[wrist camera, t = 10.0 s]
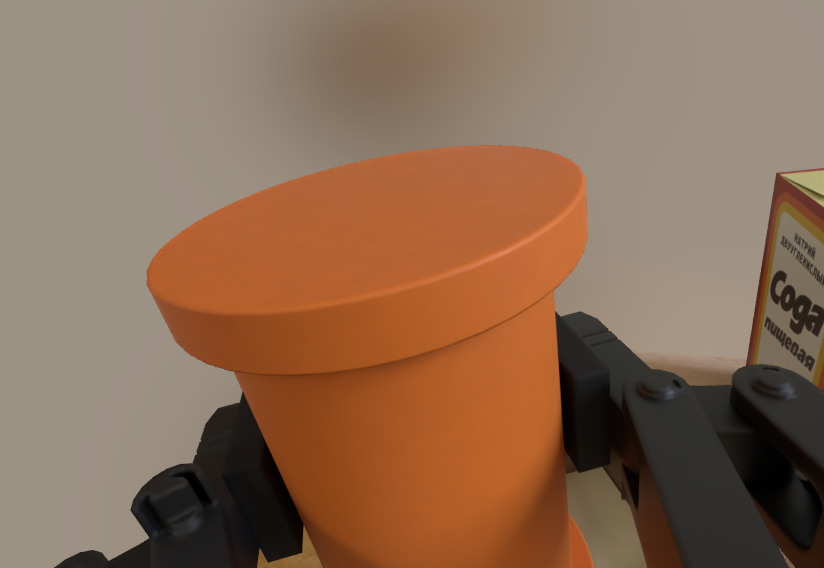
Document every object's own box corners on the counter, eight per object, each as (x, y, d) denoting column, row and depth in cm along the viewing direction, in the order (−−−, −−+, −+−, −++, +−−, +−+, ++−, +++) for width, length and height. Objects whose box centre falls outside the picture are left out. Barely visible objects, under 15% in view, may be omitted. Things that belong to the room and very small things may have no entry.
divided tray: (506, 718, 20) (497, 676, 18) (416, 402, 39) (407, 367, 37) (742, 640, 21) (753, 592, 19) (542, 367, 39) (539, 332, 38)
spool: (338, 808, 10) (39, 378, 5) (333, 512, 17) (205, 197, 12) (662, 703, 11) (709, 208, 5) (531, 456, 18) (495, 129, 12)
